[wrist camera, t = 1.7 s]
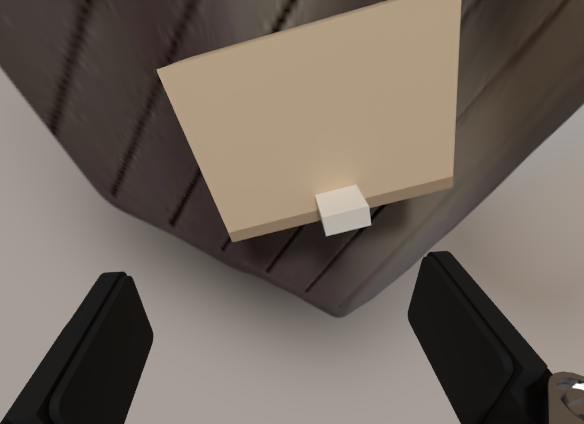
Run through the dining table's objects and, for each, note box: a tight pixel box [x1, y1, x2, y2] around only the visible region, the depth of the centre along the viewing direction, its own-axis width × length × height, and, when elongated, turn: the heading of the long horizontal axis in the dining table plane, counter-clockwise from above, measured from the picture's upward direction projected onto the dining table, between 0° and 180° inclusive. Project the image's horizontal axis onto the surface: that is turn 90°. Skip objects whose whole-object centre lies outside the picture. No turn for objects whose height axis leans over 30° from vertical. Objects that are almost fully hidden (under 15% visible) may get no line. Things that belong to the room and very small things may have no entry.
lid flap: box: [157, 0, 461, 242], centre depth 24 cm, size 22×16×5 cm
